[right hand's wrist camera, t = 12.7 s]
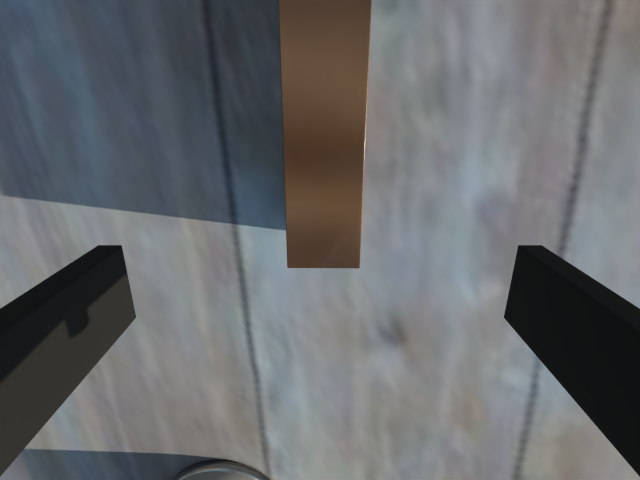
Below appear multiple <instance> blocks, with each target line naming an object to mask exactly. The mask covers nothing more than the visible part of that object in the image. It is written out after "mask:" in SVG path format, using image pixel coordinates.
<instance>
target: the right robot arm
mask: <svg viewBox="0 0 640 480" xmlns="http://www.w3.org/2000/svg"><path fill="white" fill-rule="evenodd" d="M135 318H136V315H135V310H134V305H133V300H132V295H131V290H130V285H129V280H128V275H127V270H126V265H125V260H124V255H123V250H122V245H98V246H97V247H95V248H94V249H92V250H91V251H89V252H87V253H86V254H84V255H83V256H81V257H80V258H78V259H77V260H75V261H74V262H72V263H70V264H69V265H67V266H66V267H64V268H63V269H61V270H60V271H58V272H57V273H55V274H53V275H52V276H50V277H49V278H47V279H46V280H44V281H43V282H41V283H40V284H38V285H36V286H35V287H33V288H32V289H30V290H29V291H27V292H26V293H24V294H23V295H21V296H19V297H18V298H16V299H15V300H13V301H12V302H10V303H9V304H7V305H6V306H4V307H2V308H1V309H0V476H1V475H2V474H3V473H4V471H5V470H6V469H7V468H8V467H9V466H10V464H11V463H12V462H13V461H14V460H15V459H16V457H17V456H18V455H19V454H20V453H21V452H22V450H23V449H24V448H25V447H26V446H27V445H28V443H29V442H30V441H31V440H32V439H33V438H34V436H35V435H36V434H37V433H38V432H39V430H40V429H41V428H42V427H43V426H44V425H45V423H46V422H47V421H48V420H49V419H50V418H51V416H52V415H53V414H54V413H55V412H56V411H57V409H58V408H59V407H60V406H61V405H62V404H63V402H64V401H65V400H66V399H67V398H68V397H69V395H70V394H71V393H72V392H73V391H74V389H75V388H76V387H77V386H78V385H79V384H80V382H81V381H82V380H83V379H84V378H85V377H86V375H87V374H88V373H89V372H90V371H91V370H92V368H93V367H94V366H95V365H96V364H97V363H98V361H99V360H100V359H101V358H102V357H103V356H104V354H105V353H106V352H107V351H108V350H109V349H110V347H111V346H112V345H113V344H114V343H115V341H116V340H117V339H118V338H119V337H120V336H121V334H122V333H123V332H124V331H125V330H126V329H127V327H128V326H129V325H130V324H131V323H132V322H133V320H134V319H135ZM504 318H505V319H506V320H507V322H508V323H509V324H510V325H511V326H512V327H513V329H514V330H515V331H516V332H517V333H518V334H519V336H520V337H521V338H522V339H523V340H524V341H525V343H526V344H527V345H528V346H529V347H530V349H531V350H532V351H533V352H534V353H535V354H536V356H537V357H538V358H539V359H540V360H541V361H542V363H543V364H544V365H545V366H546V367H547V368H548V370H549V371H550V372H551V373H552V374H553V375H554V377H555V378H556V379H557V380H558V381H559V382H560V384H561V385H562V386H563V387H564V388H565V390H566V391H567V392H568V393H569V394H570V395H571V397H572V398H573V399H574V400H575V401H576V402H577V404H578V405H579V406H580V407H581V408H582V409H583V411H584V412H585V413H586V414H587V415H588V416H589V418H590V419H591V420H592V421H593V422H594V423H595V425H596V426H597V427H598V428H599V429H600V430H601V432H602V433H603V434H604V435H605V436H606V438H607V439H608V440H609V441H610V442H611V443H612V445H613V446H614V447H615V448H616V449H617V450H618V452H619V453H620V454H621V455H622V456H623V457H624V459H625V460H626V461H627V462H628V463H629V464H630V466H631V467H632V468H633V469H634V470H635V471H636V473H637V474H638V475H639V476H640V309H639V308H638V307H636V306H634V305H633V304H631V303H630V302H628V301H627V300H625V299H624V298H622V297H621V296H619V295H617V294H616V293H614V292H613V291H611V290H610V289H608V288H607V287H605V286H604V285H602V284H600V283H599V282H597V281H596V280H594V279H593V278H591V277H590V276H588V275H587V274H585V273H583V272H582V271H580V270H579V269H577V268H576V267H574V266H573V265H571V264H570V263H568V262H566V261H565V260H563V259H562V258H560V257H559V256H557V255H556V254H554V253H553V252H551V251H549V250H548V249H546V248H545V247H543V246H542V245H518V250H517V255H516V260H515V265H514V270H513V275H512V280H511V285H510V290H509V295H508V300H507V305H506V310H505V315H504ZM174 480H269V479H268V478H267V477H266V476H265V475H263V474H262V473H261V472H259V471H257V470H255V469H253V468H251V467H249V466H246V465H243V464H240V463H235V462H230V461H208V462H203V463H199V464H195V465H193V466H190V467H188V468H186V469H185V470H183V471H182V472H181V473H179V474H178V475H177V476H176V478H175V479H174Z"/></svg>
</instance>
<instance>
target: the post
mask: <svg viewBox="0 0 640 480" xmlns="http://www.w3.org/2000/svg"><path fill="white" fill-rule="evenodd" d="M371 1H372V0H279V29H280V59H281V89H282V119H283V148H284V178H285V208H286V237H287V267H288V268H360V247H361V225H362V202H363V180H364V158H365V135H366V113H367V91H368V68H369V46H370V24H371Z"/></svg>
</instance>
